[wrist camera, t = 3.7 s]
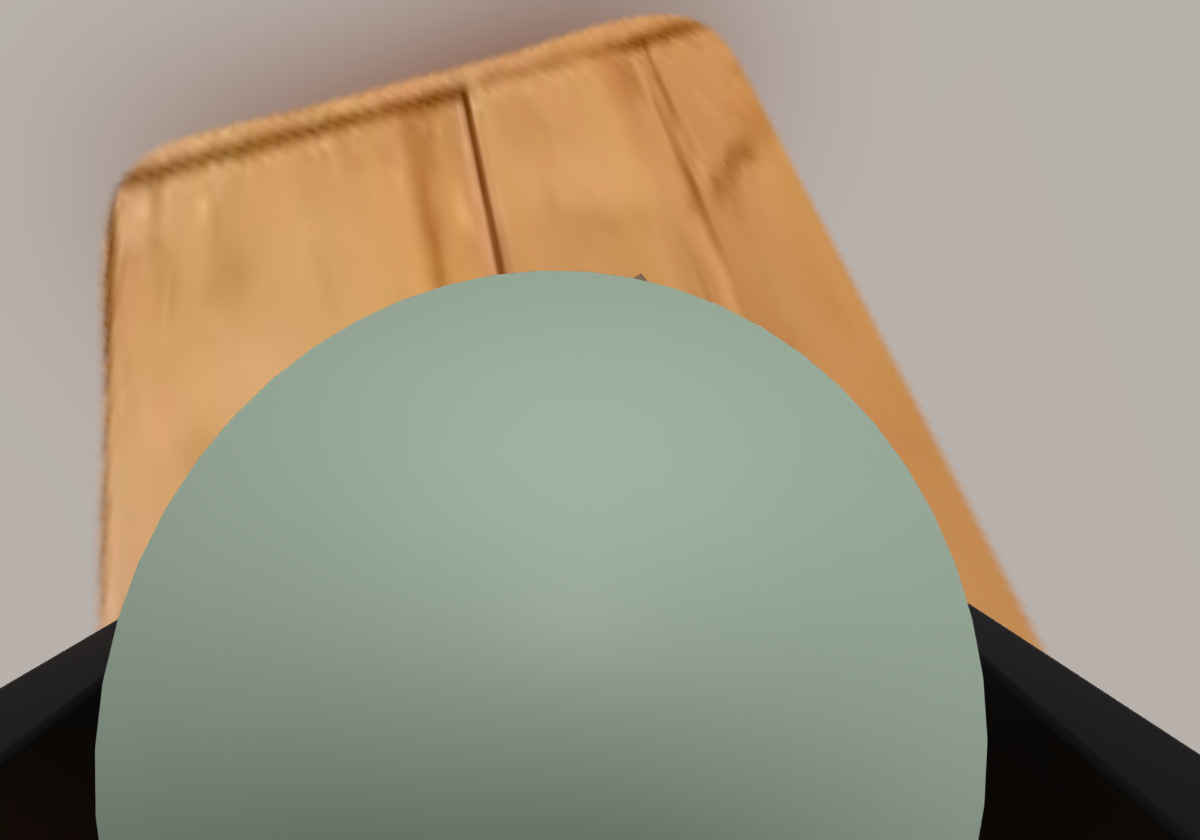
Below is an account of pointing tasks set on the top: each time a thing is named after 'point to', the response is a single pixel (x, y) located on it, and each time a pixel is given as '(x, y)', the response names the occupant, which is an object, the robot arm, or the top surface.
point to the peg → (545, 595)
